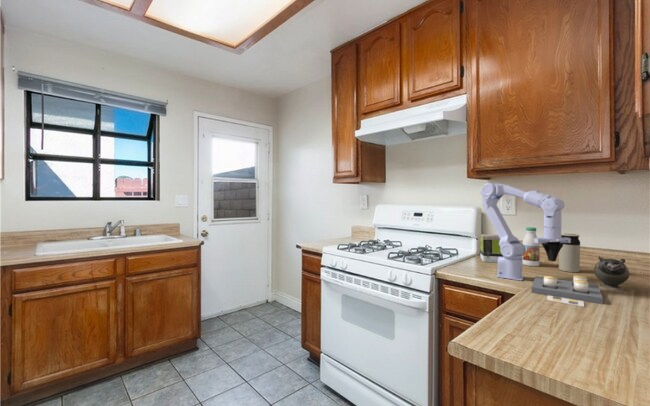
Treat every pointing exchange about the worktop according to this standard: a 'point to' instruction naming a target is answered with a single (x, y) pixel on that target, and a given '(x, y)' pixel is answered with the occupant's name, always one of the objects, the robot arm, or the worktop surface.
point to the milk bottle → (531, 248)
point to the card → (565, 301)
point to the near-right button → (581, 286)
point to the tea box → (490, 248)
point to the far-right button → (579, 278)
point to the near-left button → (550, 281)
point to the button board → (567, 290)
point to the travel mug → (570, 254)
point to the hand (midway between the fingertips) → (552, 260)
